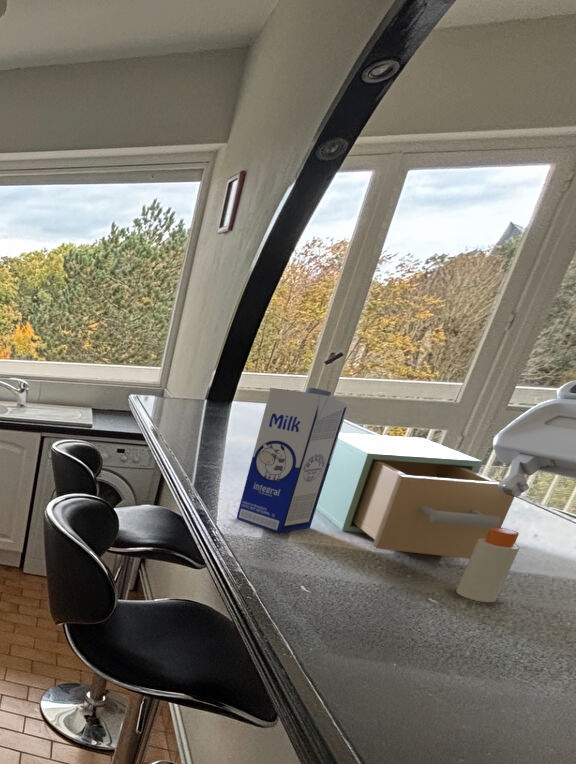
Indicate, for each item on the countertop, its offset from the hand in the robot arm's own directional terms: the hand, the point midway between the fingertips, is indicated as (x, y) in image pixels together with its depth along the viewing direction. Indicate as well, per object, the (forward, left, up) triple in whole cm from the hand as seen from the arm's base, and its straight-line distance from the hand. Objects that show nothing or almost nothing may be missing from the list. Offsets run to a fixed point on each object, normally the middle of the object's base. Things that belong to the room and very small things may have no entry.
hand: (556, 504), depth 64 cm
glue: (+5, +3, -11) cm, 12 cm away
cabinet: (+5, -25, -11) cm, 28 cm away
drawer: (+5, -13, -10) cm, 17 cm away
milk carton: (+20, -17, -11) cm, 29 cm away
